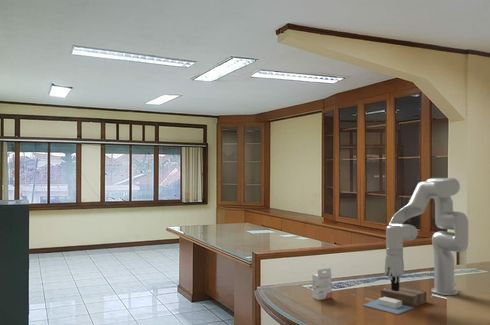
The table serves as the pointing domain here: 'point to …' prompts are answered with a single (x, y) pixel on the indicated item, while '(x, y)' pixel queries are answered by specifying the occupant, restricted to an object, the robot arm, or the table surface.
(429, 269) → the table surface
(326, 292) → the ink cartridge box
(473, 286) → the table surface
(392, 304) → the block
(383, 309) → the mat
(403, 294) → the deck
